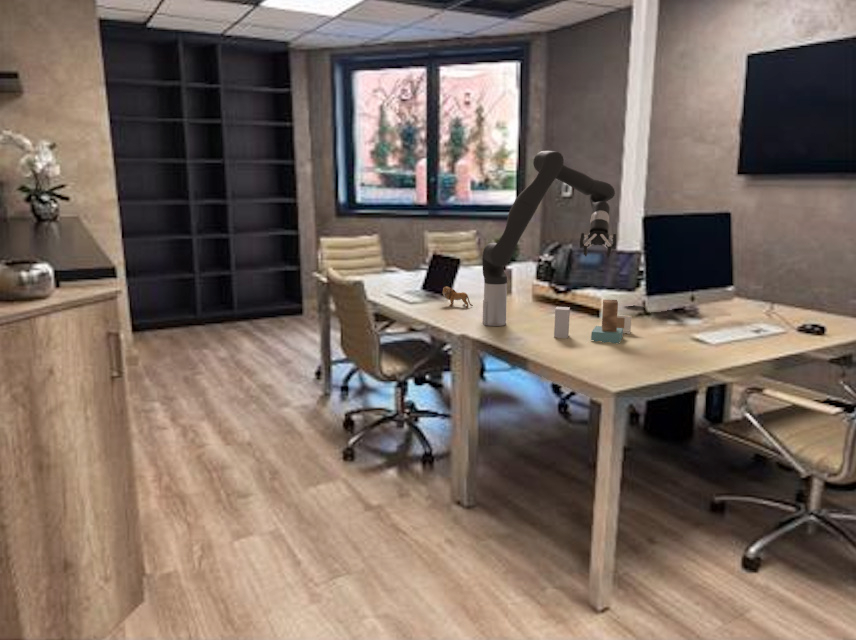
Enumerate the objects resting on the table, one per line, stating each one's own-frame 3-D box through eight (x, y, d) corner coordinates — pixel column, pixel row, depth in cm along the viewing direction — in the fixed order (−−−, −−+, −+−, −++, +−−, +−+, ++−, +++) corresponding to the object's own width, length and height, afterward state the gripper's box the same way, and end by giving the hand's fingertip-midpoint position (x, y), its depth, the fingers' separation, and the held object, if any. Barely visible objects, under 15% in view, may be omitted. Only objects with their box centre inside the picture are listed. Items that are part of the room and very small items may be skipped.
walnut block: (602, 331, 239) (603, 302, 236) (601, 327, 243) (603, 299, 241) (616, 331, 238) (618, 302, 235) (615, 328, 242) (616, 299, 240)
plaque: (606, 332, 252) (607, 315, 250) (606, 329, 255) (607, 313, 254) (630, 333, 249) (631, 317, 248) (630, 331, 253) (631, 315, 251)
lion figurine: (441, 306, 301) (441, 287, 299) (444, 304, 306) (444, 285, 304) (471, 308, 297) (472, 288, 295) (474, 305, 302) (474, 287, 300)
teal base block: (590, 342, 239) (591, 331, 238) (595, 336, 248) (596, 325, 247) (618, 344, 235) (619, 334, 234) (622, 338, 244) (623, 328, 243)
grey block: (554, 337, 244) (555, 309, 241) (555, 334, 249) (556, 306, 246) (567, 338, 242) (568, 309, 240) (568, 335, 247) (569, 307, 245)
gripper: (581, 217, 263) (578, 249, 255) (617, 218, 260) (615, 250, 251) (581, 229, 270) (578, 260, 261) (617, 230, 266) (615, 262, 258)
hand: (596, 255), depth 256 cm, fingers open, 8 cm apart
